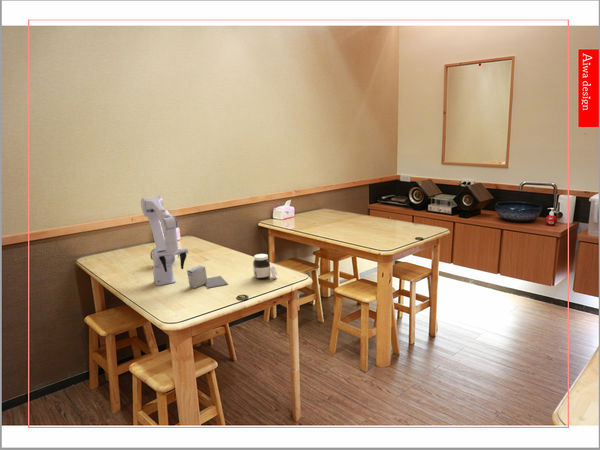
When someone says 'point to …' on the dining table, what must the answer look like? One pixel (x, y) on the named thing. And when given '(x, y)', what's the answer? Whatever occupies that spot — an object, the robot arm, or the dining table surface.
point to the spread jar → (263, 267)
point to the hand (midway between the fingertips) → (174, 269)
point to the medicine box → (197, 276)
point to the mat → (215, 282)
